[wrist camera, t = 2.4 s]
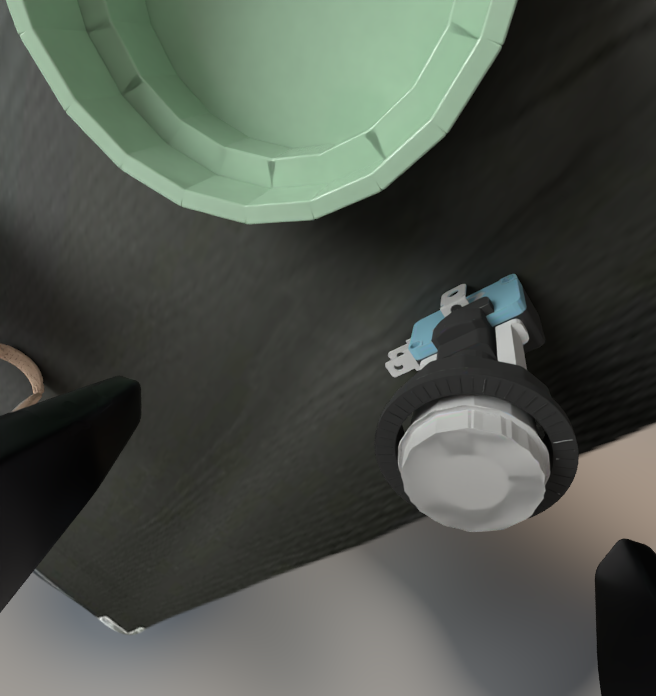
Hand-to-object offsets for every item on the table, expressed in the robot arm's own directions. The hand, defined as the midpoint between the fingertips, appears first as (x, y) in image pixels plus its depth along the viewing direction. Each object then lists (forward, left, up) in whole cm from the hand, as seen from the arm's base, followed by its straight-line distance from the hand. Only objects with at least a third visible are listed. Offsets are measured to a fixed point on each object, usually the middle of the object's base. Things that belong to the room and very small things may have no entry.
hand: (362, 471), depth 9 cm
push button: (-2, +3, -13) cm, 14 cm away
